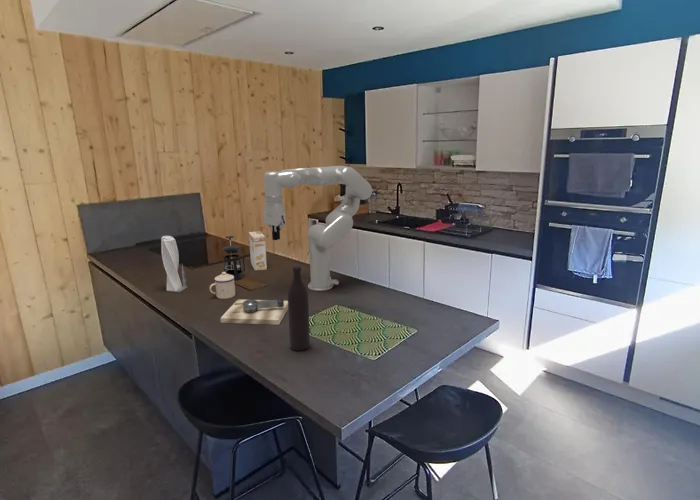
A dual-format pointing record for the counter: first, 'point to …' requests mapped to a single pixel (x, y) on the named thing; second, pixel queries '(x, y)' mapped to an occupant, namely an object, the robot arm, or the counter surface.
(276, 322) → the wooden cutting board
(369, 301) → the counter surface
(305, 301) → the wine bottle
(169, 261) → the skyscraper
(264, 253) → the coffeecake box
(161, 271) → the counter surface
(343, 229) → the robot arm
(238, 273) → the french press
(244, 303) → the lever
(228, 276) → the teacup with lid
